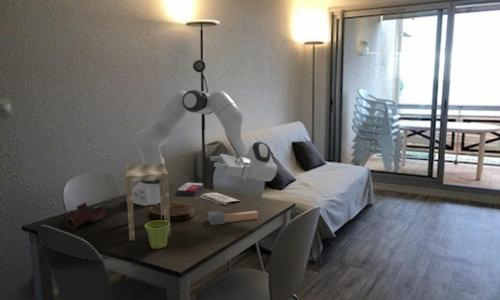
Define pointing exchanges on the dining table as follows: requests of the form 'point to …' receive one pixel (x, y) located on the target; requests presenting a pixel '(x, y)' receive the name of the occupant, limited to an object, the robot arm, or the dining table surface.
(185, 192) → the calculator
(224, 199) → the newspaper
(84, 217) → the bracket
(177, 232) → the dining table surface
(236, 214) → the mallet
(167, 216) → the frame
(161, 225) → the plant pot
